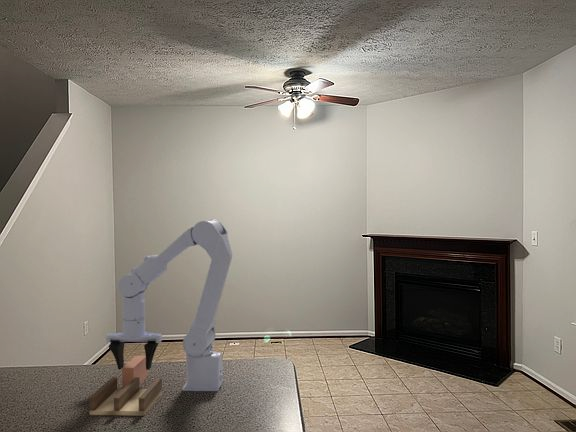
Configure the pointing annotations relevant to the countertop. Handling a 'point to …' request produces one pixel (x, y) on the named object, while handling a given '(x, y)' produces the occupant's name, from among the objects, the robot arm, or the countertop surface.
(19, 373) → the countertop surface
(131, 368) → the book
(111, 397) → the book rack
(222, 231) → the robot arm
